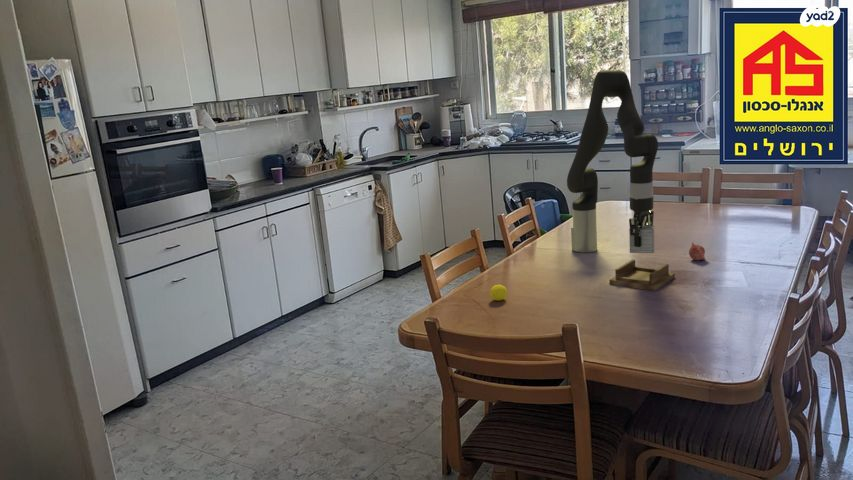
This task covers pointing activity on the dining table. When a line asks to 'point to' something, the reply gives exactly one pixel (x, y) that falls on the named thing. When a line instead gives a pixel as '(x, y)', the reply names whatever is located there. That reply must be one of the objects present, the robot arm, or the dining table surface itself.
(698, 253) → the orange ridged rounded piece
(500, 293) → the lemon
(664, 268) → the brown wooden tray
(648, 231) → the medicine box
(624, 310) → the dining table surface
